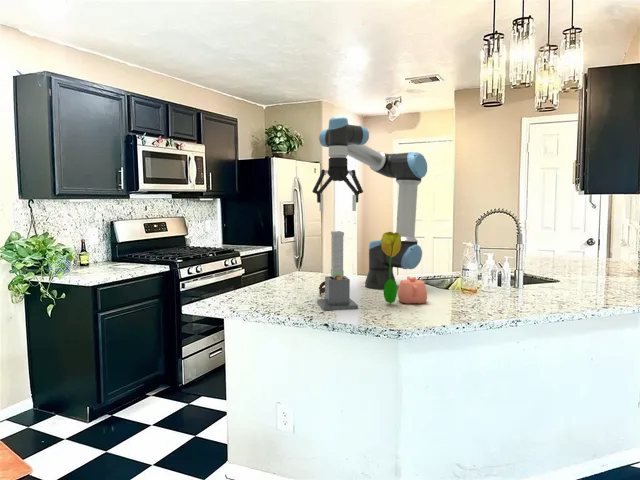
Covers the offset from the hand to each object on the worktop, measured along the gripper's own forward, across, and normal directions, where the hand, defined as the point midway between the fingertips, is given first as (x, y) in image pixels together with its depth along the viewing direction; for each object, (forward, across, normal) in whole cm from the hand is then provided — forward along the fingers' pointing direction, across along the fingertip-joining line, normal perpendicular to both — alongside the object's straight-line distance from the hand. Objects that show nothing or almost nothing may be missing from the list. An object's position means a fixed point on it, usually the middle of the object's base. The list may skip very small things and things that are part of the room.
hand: (337, 211), depth 192 cm
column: (+29, 0, 0) cm, 29 cm away
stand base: (+39, 0, 0) cm, 39 cm away
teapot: (+39, -33, -2) cm, 51 cm away
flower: (+39, -22, +2) cm, 45 cm away
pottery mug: (+39, -2, -21) cm, 44 cm away
